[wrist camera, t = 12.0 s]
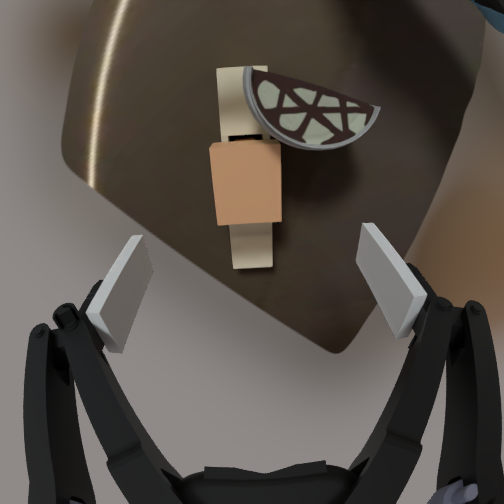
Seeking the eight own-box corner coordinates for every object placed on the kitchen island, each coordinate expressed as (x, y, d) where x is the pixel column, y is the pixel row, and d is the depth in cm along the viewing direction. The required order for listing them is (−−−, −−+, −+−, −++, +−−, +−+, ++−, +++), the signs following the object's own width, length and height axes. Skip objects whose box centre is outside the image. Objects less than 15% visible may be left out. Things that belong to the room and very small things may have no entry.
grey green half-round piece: (232, 124, 29) (227, 136, 20) (244, 74, 25) (243, 64, 17) (333, 148, 30) (365, 172, 22) (346, 103, 27) (386, 109, 19)
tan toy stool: (216, 138, 29) (209, 148, 23) (273, 134, 29) (280, 143, 23) (222, 201, 33) (217, 225, 28) (274, 198, 33) (281, 221, 28)
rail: (219, 71, 25) (216, 68, 22) (264, 68, 25) (267, 65, 22) (234, 256, 37) (233, 268, 35) (270, 253, 37) (272, 266, 35)
